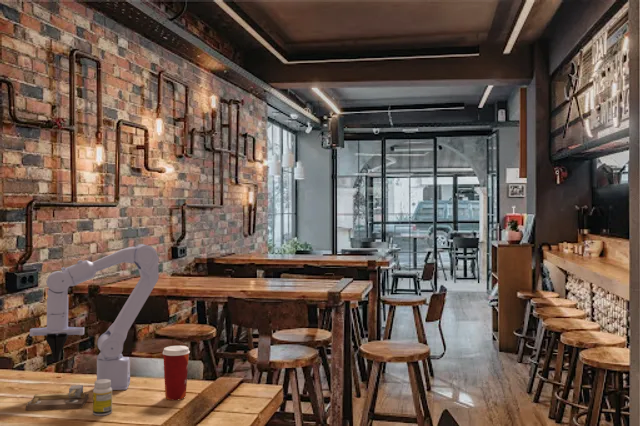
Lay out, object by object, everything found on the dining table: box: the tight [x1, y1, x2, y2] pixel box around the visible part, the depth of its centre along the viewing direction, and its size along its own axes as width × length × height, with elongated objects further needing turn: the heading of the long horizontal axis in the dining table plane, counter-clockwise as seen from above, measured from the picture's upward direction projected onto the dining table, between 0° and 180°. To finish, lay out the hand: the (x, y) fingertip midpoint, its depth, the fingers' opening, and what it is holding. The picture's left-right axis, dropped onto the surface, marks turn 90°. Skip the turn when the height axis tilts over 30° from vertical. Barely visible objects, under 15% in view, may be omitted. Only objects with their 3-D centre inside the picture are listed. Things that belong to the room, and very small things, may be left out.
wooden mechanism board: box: [25, 392, 90, 411], centre depth 168 cm, size 14×9×2 cm, turn 100°
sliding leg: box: [68, 384, 84, 398], centre depth 168 cm, size 3×7×3 cm, turn 10°
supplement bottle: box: [92, 379, 113, 417], centre depth 160 cm, size 5×5×8 cm
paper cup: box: [161, 345, 191, 401], centre depth 175 cm, size 8×8×14 cm
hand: (57, 360), depth 178 cm, fingers closed
